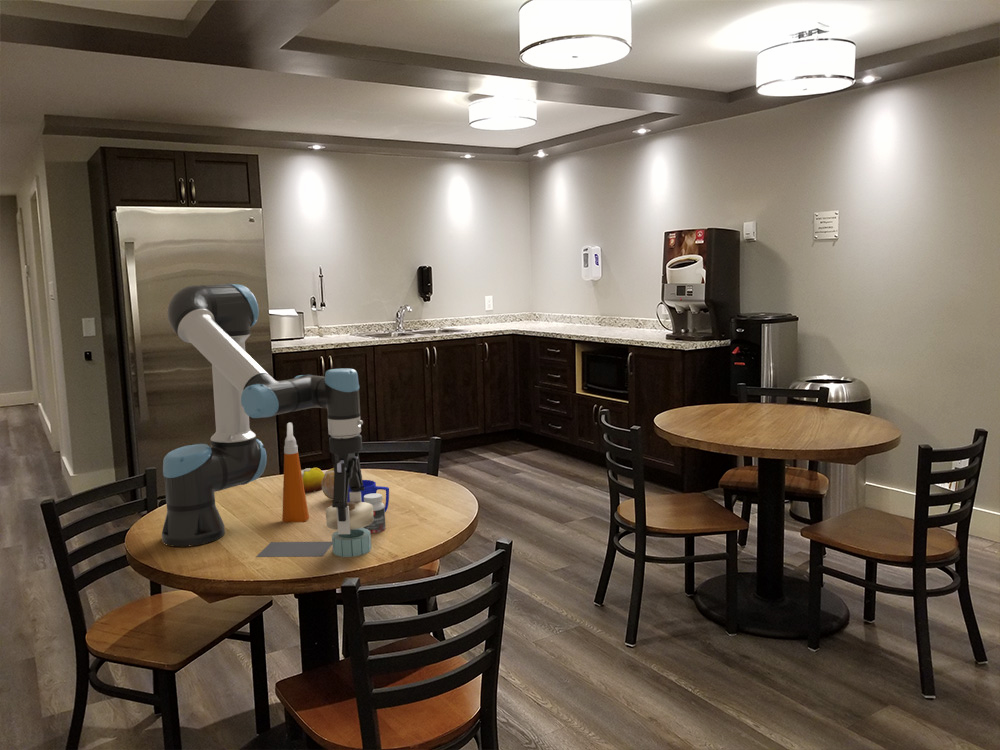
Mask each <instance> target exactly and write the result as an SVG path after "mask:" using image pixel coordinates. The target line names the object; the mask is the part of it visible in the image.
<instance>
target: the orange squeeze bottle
mask: <svg viewBox="0 0 1000 750" xmlns="http://www.w3.org/2000/svg"><path fill="white" fill-rule="evenodd" d="M298 447H299V446H298V444H297V440H296V438H295V436H294V425H293V422H288V423H286V437H285V439H284V446H283V449H284V450H283V453H284V455H283V482H282V483H283V484H282V485H283V486H282V487H283V488H282V519H281V521H282V522H283V523H305V522H307V521H309V519H310V515H309V510H308V503H307V497H306V493H305V491H304V485H303V479H302V473H301V470H302V468H301V462H300V456H299V451H298Z"/></svg>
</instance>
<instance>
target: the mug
mask: <svg viewBox="0 0 1000 750" xmlns="http://www.w3.org/2000/svg"><path fill="white" fill-rule="evenodd" d="M362 480H363V486H364V491H360V492H361V500H362V502H364V496H365V495H367V494H372V493H378V492H377V491H378V490H382V491H385V503H384V506H385V513H387V510H388V508H389V501H390V500H389V499H390V487H387V486H381V485H380V486H379V485H377V483H376V481H374V480H371V479H362ZM349 492H353V491H351V490H350V486H349ZM349 492H348V502H350V495H349Z"/></svg>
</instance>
